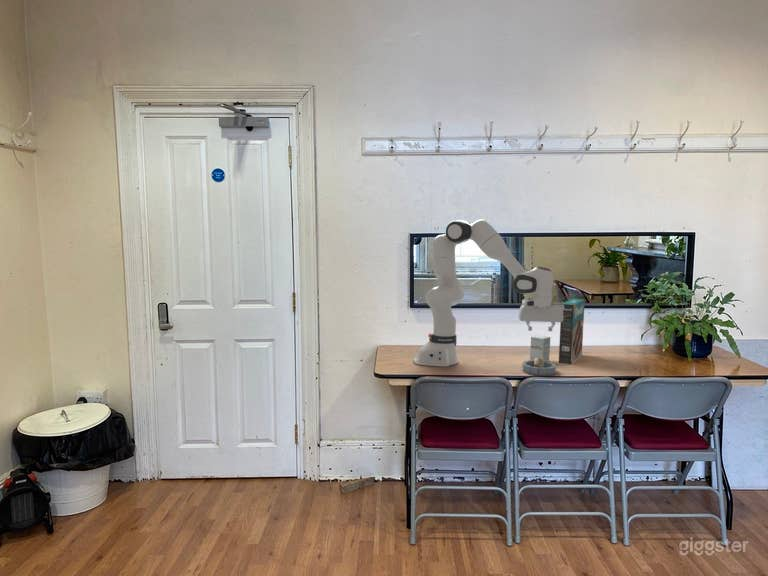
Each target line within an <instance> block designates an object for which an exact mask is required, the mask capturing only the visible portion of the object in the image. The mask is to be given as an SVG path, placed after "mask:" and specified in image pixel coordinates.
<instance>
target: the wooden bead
mask: <svg viewBox="0 0 768 576" xmlns="http://www.w3.org/2000/svg"><path fill="white" fill-rule="evenodd" d="M543 366H544V359H542V358H535V360H534V367H538V368H543Z"/></svg>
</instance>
